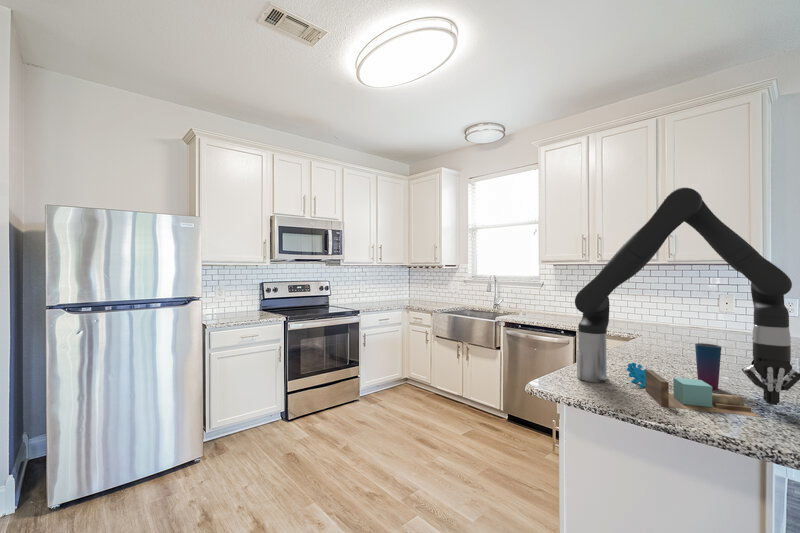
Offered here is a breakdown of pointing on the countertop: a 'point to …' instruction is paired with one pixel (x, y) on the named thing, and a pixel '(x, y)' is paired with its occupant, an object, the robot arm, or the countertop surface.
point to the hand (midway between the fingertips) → (771, 403)
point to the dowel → (727, 399)
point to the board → (660, 394)
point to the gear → (637, 374)
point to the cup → (708, 363)
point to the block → (692, 392)
